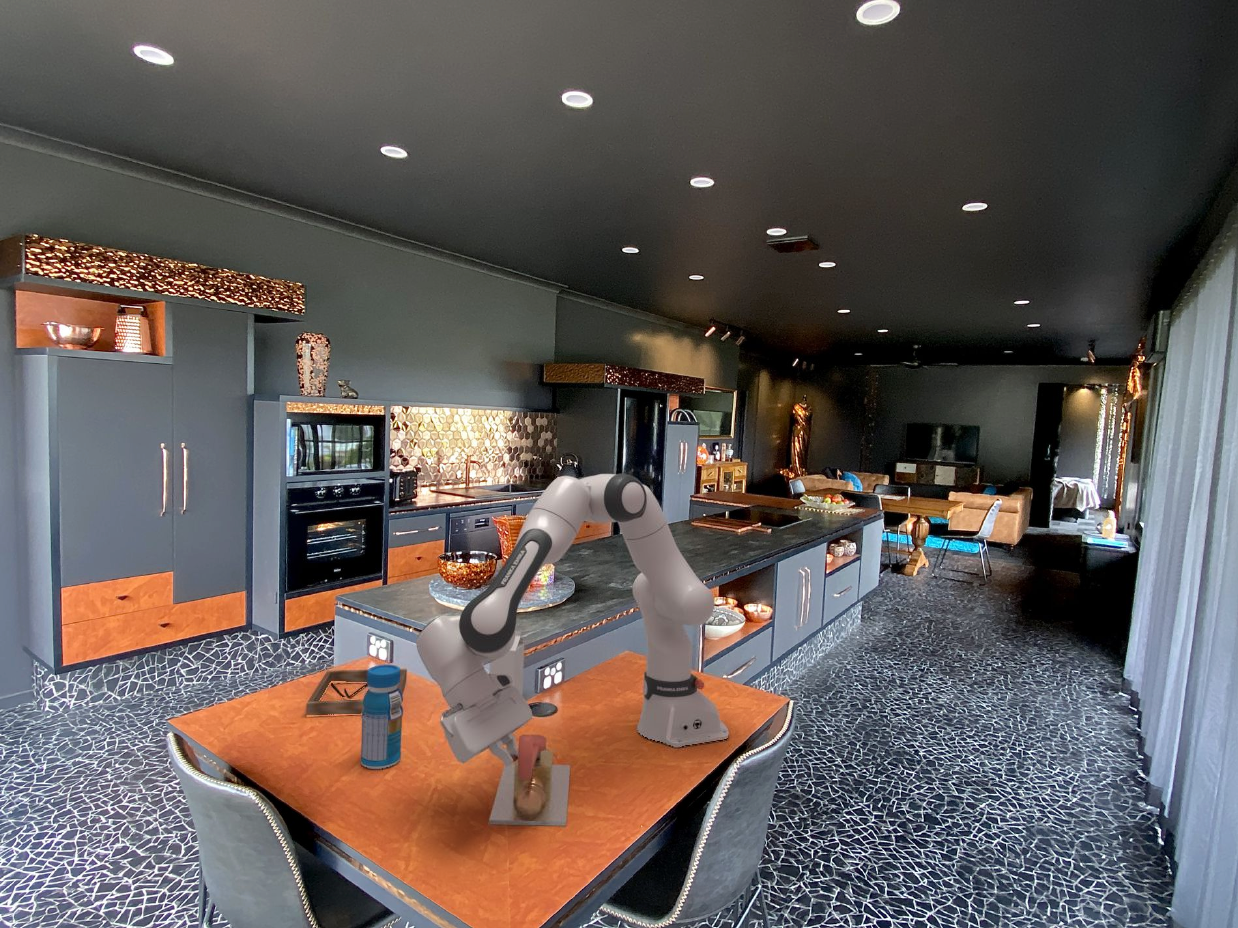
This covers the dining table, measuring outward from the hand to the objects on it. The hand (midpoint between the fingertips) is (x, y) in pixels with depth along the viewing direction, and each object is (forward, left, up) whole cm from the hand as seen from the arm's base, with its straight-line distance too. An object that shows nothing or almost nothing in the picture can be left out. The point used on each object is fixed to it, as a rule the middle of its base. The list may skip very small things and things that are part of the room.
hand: (514, 761), depth 122 cm
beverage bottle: (+26, -29, -12) cm, 41 cm away
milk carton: (-2, -61, -12) cm, 62 cm away
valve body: (-5, -11, -12) cm, 17 cm away
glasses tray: (+36, -67, -12) cm, 77 cm away
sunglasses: (+36, -68, -12) cm, 78 cm away
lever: (-3, -6, -3) cm, 7 cm away
